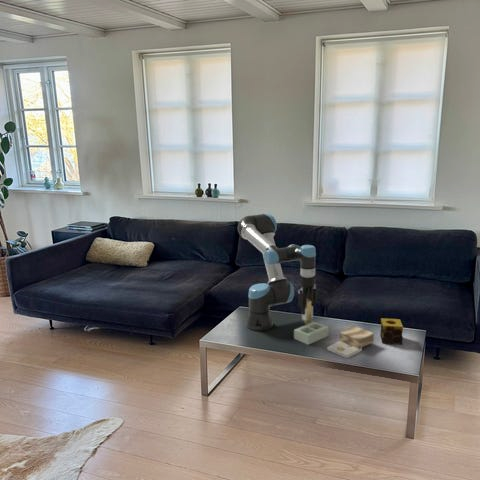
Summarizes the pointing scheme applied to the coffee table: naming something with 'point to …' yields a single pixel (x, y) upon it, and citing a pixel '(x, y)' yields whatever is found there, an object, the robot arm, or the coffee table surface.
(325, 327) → the socket board
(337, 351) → the board
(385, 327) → the candle
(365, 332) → the tan layered block
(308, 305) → the peg
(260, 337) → the coffee table surface
